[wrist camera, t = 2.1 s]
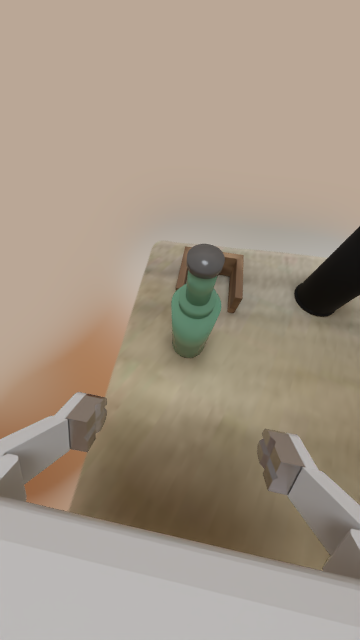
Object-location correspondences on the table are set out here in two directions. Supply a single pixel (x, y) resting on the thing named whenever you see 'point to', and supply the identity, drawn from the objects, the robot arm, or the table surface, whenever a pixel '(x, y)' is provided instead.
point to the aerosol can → (333, 280)
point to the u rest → (230, 268)
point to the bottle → (197, 301)
